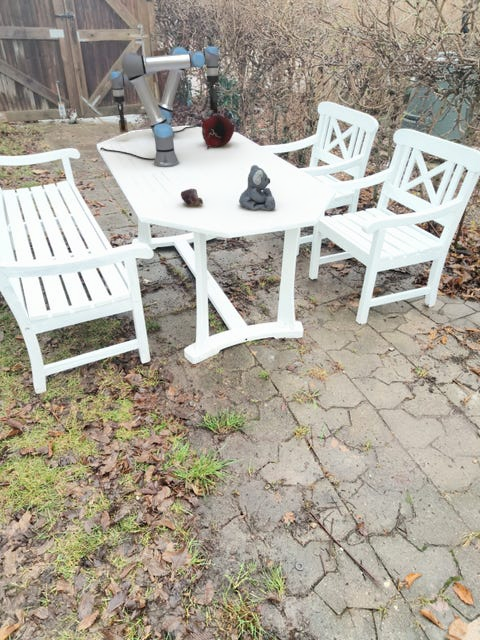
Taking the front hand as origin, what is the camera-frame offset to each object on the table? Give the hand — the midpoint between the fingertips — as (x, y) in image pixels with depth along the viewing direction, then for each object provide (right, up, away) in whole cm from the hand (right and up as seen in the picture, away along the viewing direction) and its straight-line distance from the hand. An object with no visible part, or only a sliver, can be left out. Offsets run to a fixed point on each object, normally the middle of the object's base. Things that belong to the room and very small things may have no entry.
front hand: (213, 111), depth 295 cm
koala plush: (+26, -79, -66) cm, 106 cm away
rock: (-8, -78, -64) cm, 101 cm away
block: (-71, +7, +47) cm, 85 cm away
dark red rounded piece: (+1, -7, +39) cm, 40 cm away
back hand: (-71, +8, +46) cm, 85 cm away
